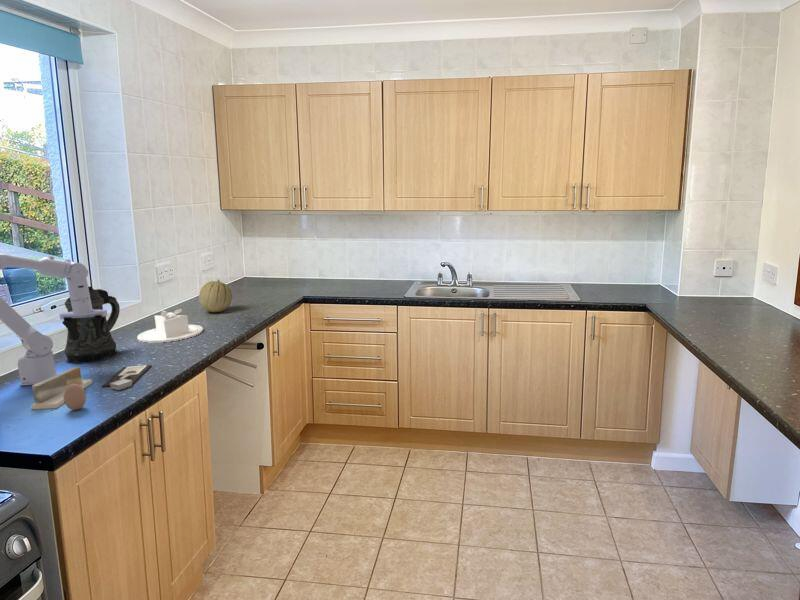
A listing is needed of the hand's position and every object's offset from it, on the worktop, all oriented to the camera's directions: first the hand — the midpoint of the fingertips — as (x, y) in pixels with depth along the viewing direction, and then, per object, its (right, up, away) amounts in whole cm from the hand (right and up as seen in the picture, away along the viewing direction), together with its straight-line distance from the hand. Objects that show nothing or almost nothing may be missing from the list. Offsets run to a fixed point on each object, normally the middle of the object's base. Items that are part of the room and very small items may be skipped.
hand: (88, 338), depth 193 cm
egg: (+15, -17, -34) cm, 41 cm away
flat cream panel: (+5, -15, -23) cm, 28 cm away
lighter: (+17, -13, -20) cm, 29 cm away
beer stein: (-7, -7, +18) cm, 21 cm away
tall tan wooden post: (+4, -14, -24) cm, 28 cm away
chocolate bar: (+17, -12, -8) cm, 22 cm away
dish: (+11, -2, +42) cm, 44 cm away
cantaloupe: (+18, +7, +80) cm, 83 cm away
